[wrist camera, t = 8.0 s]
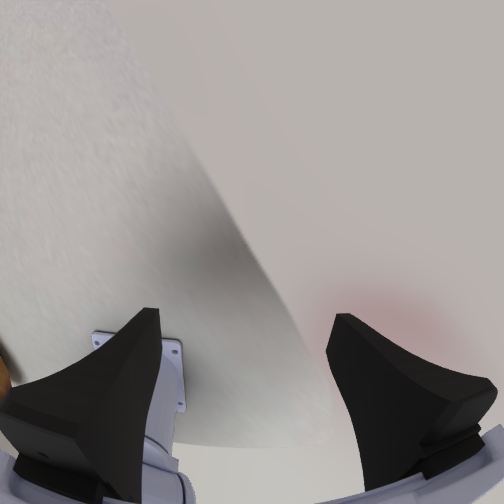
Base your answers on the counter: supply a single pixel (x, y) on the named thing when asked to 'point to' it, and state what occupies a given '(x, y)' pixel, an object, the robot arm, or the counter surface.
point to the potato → (4, 381)
